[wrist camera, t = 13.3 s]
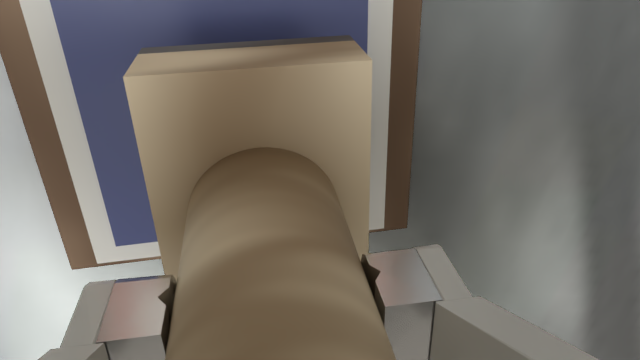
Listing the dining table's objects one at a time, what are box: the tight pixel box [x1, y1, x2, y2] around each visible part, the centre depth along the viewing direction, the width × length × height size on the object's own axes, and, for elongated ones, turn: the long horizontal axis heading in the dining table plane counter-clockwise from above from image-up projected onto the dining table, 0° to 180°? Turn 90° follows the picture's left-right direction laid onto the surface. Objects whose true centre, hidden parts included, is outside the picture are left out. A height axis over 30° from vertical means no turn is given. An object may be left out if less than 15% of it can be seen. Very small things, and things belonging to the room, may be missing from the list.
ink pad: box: [19, 0, 393, 264], centre depth 19 cm, size 12×13×2 cm
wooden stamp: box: [123, 35, 396, 360], centre depth 10 cm, size 5×7×9 cm
